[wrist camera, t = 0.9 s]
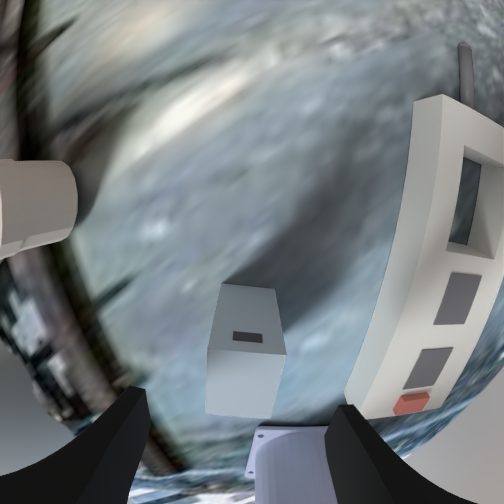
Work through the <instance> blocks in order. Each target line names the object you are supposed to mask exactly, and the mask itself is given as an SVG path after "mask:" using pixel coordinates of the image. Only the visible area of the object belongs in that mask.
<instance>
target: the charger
mask: <svg viewBox="0 0 504 504" xmlns="http://www.w3.org/2000/svg"><path fill="white" fill-rule="evenodd" d="M286 356H287V354H286V348H285V343H284V337H283V331H282V326H281V320H280V315H279V309H278V304H277V298H276V293H275V289H270V288H260V287H250V286H241V285H232V284H223V283H221V287H220V292H219V296H218V301H217V306H216V310H215V315H214V320H213V325H212V329H211V334H210V339H209V344H208V352H207V375H206V404H205V414H213V415H222V416H233V417H245V418H261V419H270V418H271V415H272V411H273V407H274V404H275V400H276V396H277V392H278V388H279V384H280V380H281V376H282V372H283V368H284V364H285V360H286Z"/></svg>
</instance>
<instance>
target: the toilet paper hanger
mask: <svg viewBox="0 0 504 504" xmlns="http://www.w3.org/2000/svg"><path fill="white" fill-rule="evenodd" d="M77 204H78V193H77V188H76V182H75V178H74V176H73V174H72V171H71V169H70V167H69V166H68V165H67V164H65V163H64V162H63V161H13V159H0V259H3V258H6V257H10V256H13V255H15V254H16V253H18V252H19V251H22V250H26V249H30V248H34V247H37V246H41V245H45V244H49V243H53V242H58V241H61V240H63V239H65V238H67V237H68V236H69V234H70V232H71V231H72V229H73V227H74V224H75V220H76V215H77Z"/></svg>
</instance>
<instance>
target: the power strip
mask: <svg viewBox="0 0 504 504" xmlns="http://www.w3.org/2000/svg"><path fill="white" fill-rule="evenodd" d="M458 53H459V68H460V102H458V101H456V100H454V99H452V98H450V97H448V96H446V95H444V94H441V95H437V96H433V97H429V98H425V99H421V100H418V101H414V102H413V116H412V128H411V139H410V148H409V156H408V164H407V171H406V178H405V184H404V190H403V196H402V202H401V207H400V212H399V217H398V222H397V227H396V231H395V236H394V240H393V244H392V249H391V253H390V257H389V261H388V264H387V268H386V272H385V276H384V279H383V283H382V286H381V290H380V293H379V296H378V300H377V303H376V306H375V309H374V312H373V315H372V318H371V321H370V324H369V327H368V330H367V333H366V336H365V339H364V342H363V344H362V347H361V350H360V352H359V355H358V358H357V360H356V363H355V365H354V368H353V370H352V373H351V375H350V378H349V380H348V382H347V385H346V387H345V389H344V395H345V398H346V400H347V403H348V405H349V404H354V406H355V407H356V408H357V409H358V410H359V412H360V413H361V414H362V415H363V417H364V418H365V419H375V418H384V417H391V416H398V415H404V414H410V413H415V412H421V411H426V410H431V409H435V408H440V407H441V405H442V404H443V402H444V401H445V399H446V398H447V396H448V395H449V393H450V391H451V390H452V388H453V386H454V385H455V383H456V381H457V380H458V378H459V376H460V374H461V373H462V371H463V369H464V367H465V365H466V363H467V362H468V360H469V358H470V356H471V354H472V352H473V350H474V348H475V346H476V344H477V342H478V340H479V338H480V335H481V333H482V331H483V329H484V326H485V324H486V322H487V319H488V317H489V315H490V312H491V310H492V307H493V305H494V302H495V299H496V297H497V294H498V291H499V288H500V285H501V282H502V279H503V276H504V128H503V127H502V126H500V125H498V124H497V123H495V122H494V121H492V120H490V119H489V118H487V117H485V116H484V115H482V114H480V113H478V112H477V111H475V110H474V76H473V61H472V50H471V47H470V46H469V45H468V44H467V43H463V42H462V43H460V44H459V45H458ZM463 157H465V158H467V159H470V160H472V161H474V162H476V163H479V164H481V174H480V181H479V188H478V194H477V200H476V206H475V211H474V216H473V221H472V226H471V230H470V234H469V238H468V242H467V245H464V244H459V243H454V242H448V240H449V236H450V232H451V227H452V223H453V218H454V213H455V208H456V203H457V197H458V191H459V185H460V178H461V171H462V163H463Z"/></svg>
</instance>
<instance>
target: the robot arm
mask: <svg viewBox="0 0 504 504" xmlns="http://www.w3.org/2000/svg"><path fill="white" fill-rule="evenodd" d="M150 424H151V419H150V414H149V409H148V403H147V397H146V391H145V389H142V388H138V387H133V386H129V387H127V388H126V389H125V391H124V392H123V393H122V394H121V395H120V396H119V397H118V398H117V399H116V400H115V402H114V403H113V404H112V405H111V406H110V407H109V408H108V409H107V410H106V411H105V412H104V413H103V414H102V415H101V416H100V417H99V418H98V419H97V420H95V421H94V422H93V423H92V424H91V425H90V426H89V427H88V428H87V429H85V430H84V431H83V432H82V433H81V434H79V435H78V436H77V437H76V438H75V439H73V440H72V441H71V442H69V443H68V444H67V445H65V446H64V447H62V448H61V449H59V450H58V451H56V452H54V453H53V454H51V455H49V456H48V457H46V458H45V459H42V460H40V461H39V462H37V463H35V464H32V465H30V466H27V467H25V468H23V469H20V470H18V471H16V472H12V473H9V474H6V475H2V476H0V504H127V501H128V496H129V492H130V488H131V485H132V482H133V479H134V476H135V474H136V471H137V468H138V465H139V462H140V460H141V457H142V454H143V451H144V448H145V445H146V442H147V438H148V433H149V428H150ZM245 477H246V478H255V504H477V503H474V502H471V501H468V500H466V499H463V498H460V497H458V496H456V495H453V494H451V493H449V492H447V491H446V490H444V489H442V488H440V487H438V486H437V485H435V484H434V483H432V482H430V481H429V480H427V479H426V478H424V477H423V476H421V475H420V474H419V473H418V472H416V471H415V470H414V469H413V468H411V467H410V466H409V465H408V464H407V463H405V462H404V461H403V460H402V459H401V458H400V457H399V456H398V455H397V454H396V453H395V452H394V451H393V450H392V449H391V448H390V447H389V446H388V445H387V444H386V442H385V441H384V440H383V439H382V438H381V437H380V436H379V435H378V433H377V432H376V431H375V430H374V429H373V428H372V426H371V425H370V424H369V423H368V422H367V420H366V419H365V418H364V417H363V415H362V414H361V413H360V412H359V410H358V409H357V408H356V407H355V406H354V404H349V405H339V406H338V408H337V410H336V412H335V414H334V416H333V419H332V421H331V423H330V425H329V426H316V427H273V426H260V427H257V428H256V430H255V434H254V438H253V442H252V447H251V451H250V455H249V459H248V463H247V467H246V471H245Z"/></svg>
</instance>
